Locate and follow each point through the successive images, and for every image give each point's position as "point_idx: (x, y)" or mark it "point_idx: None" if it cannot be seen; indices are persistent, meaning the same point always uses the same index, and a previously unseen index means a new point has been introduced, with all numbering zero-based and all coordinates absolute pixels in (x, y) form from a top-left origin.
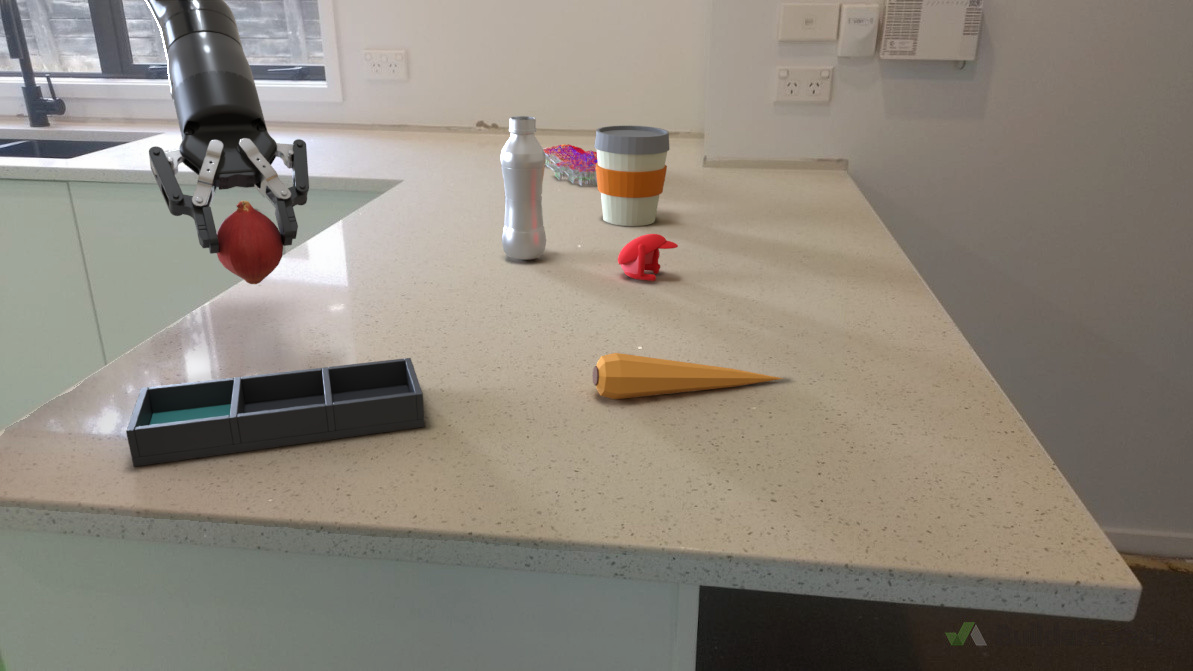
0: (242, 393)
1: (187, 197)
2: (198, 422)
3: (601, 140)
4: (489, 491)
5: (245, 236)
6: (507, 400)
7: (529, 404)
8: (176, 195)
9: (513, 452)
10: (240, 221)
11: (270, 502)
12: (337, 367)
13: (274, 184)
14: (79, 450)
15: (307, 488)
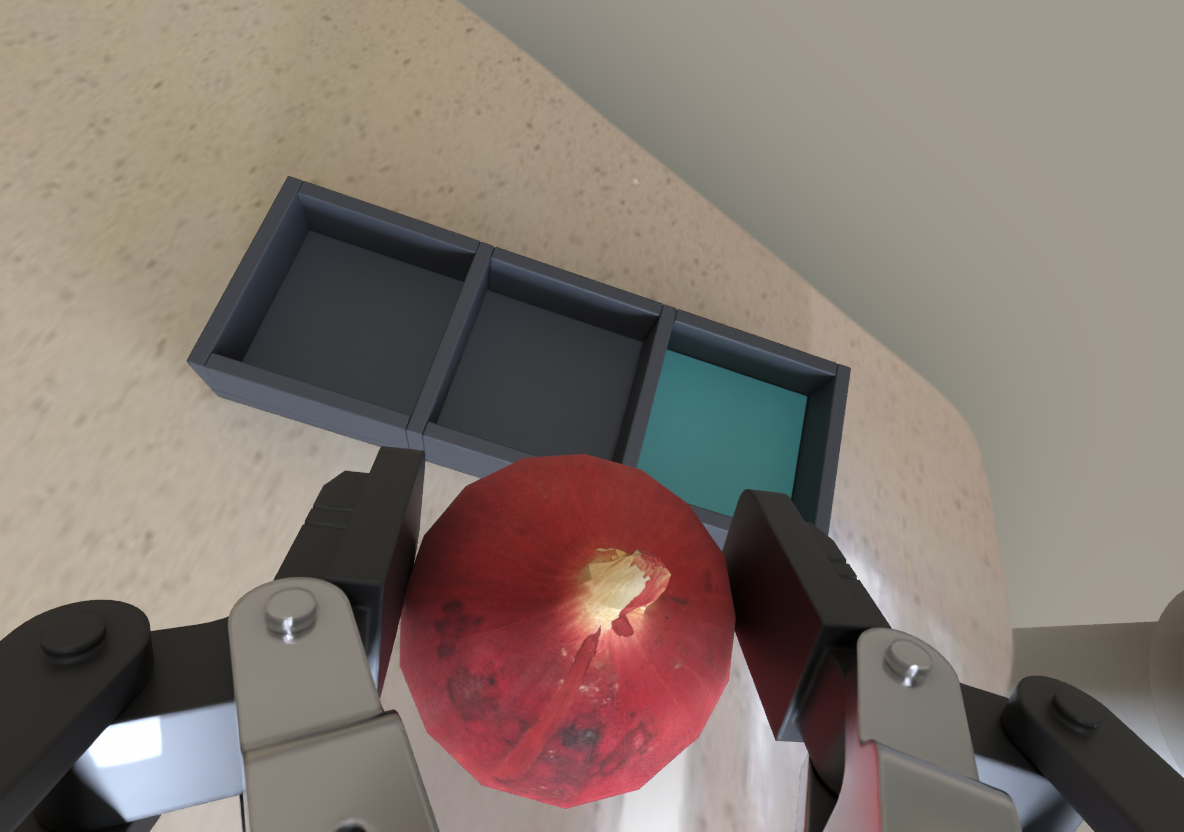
0: None
1: (988, 738)
2: (730, 328)
3: None
4: (339, 10)
5: (625, 468)
6: (69, 218)
7: (42, 176)
8: (1071, 705)
9: (223, 63)
10: (646, 514)
11: (637, 175)
12: (386, 412)
13: (326, 697)
14: (896, 514)
15: (578, 176)
